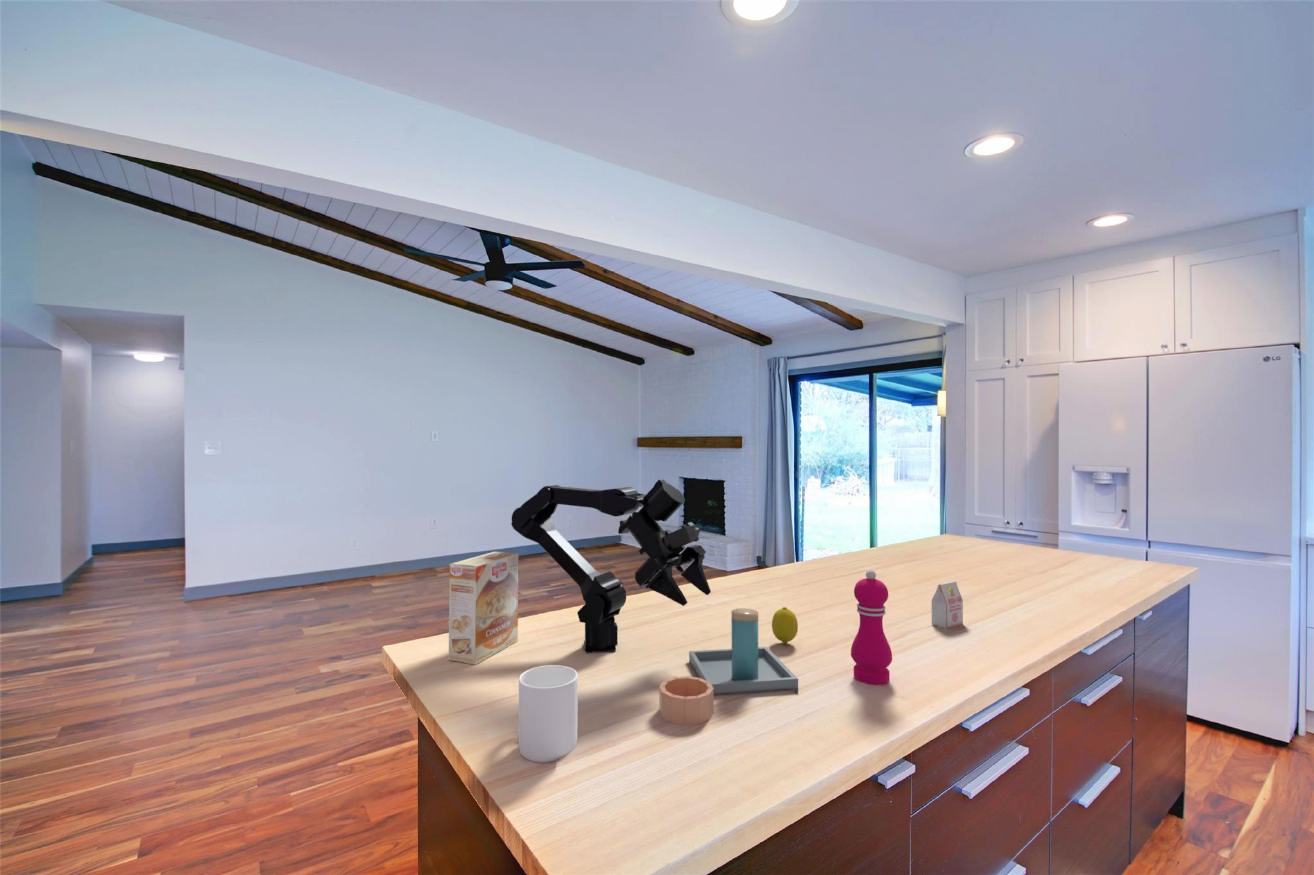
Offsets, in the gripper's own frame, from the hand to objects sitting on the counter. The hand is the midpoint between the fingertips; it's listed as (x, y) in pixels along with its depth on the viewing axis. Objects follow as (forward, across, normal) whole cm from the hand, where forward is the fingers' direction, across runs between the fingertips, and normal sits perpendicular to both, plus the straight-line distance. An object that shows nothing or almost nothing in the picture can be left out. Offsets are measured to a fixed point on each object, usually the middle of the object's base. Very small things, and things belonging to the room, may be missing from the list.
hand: (697, 598), depth 111 cm
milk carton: (+36, +58, -16) cm, 70 cm away
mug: (+6, -36, +14) cm, 39 cm away
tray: (+16, +1, +4) cm, 16 cm away
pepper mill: (+30, +14, -11) cm, 35 cm away
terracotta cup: (+15, -17, +4) cm, 23 cm away
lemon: (+16, +23, +4) cm, 28 cm away
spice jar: (+16, -1, +2) cm, 16 cm away
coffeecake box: (-20, -16, +40) cm, 47 cm away
